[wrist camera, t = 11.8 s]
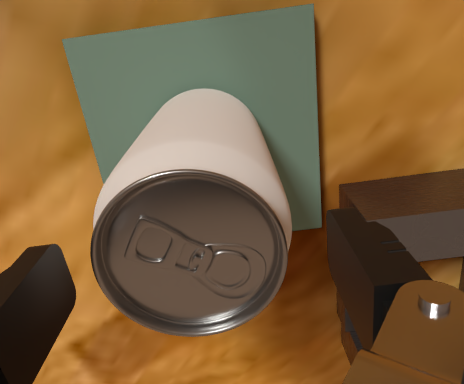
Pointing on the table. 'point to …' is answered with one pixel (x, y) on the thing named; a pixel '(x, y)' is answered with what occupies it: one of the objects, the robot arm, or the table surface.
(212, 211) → the can
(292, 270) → the table surface
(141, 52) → the mat
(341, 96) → the table surface
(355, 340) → the block
